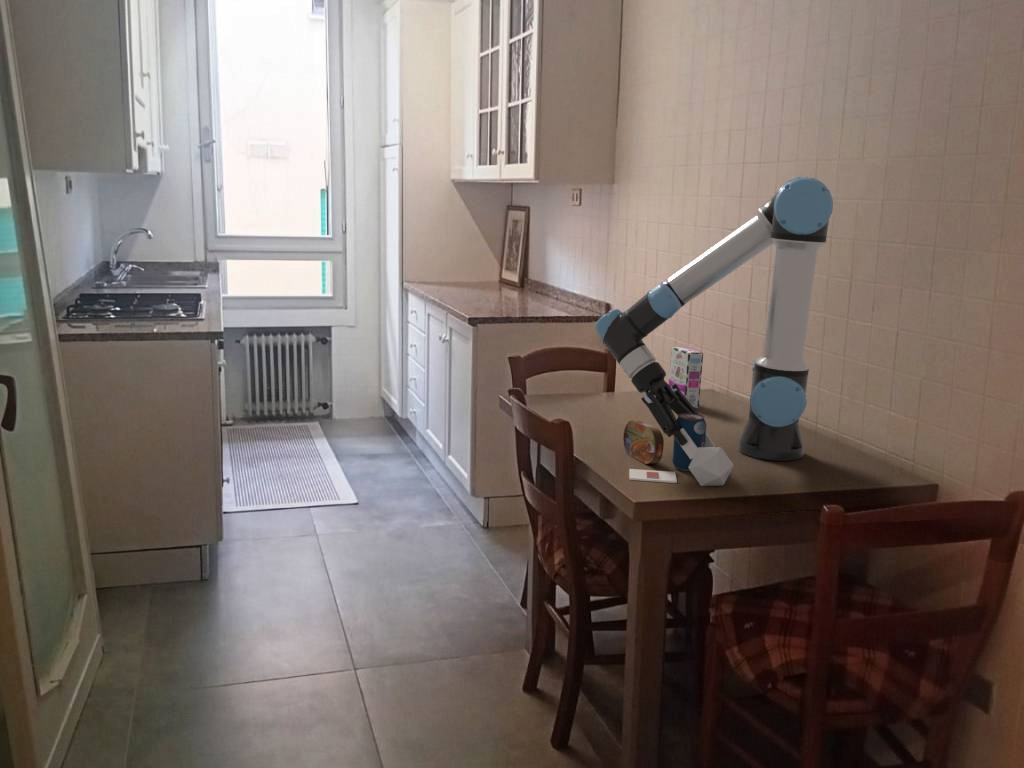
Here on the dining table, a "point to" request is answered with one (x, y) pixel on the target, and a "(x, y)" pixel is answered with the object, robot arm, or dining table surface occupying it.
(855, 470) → the dining table surface
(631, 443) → the tin
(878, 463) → the dining table surface
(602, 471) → the dining table surface
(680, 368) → the candy bar box
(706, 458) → the die
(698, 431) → the soda can
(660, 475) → the card
